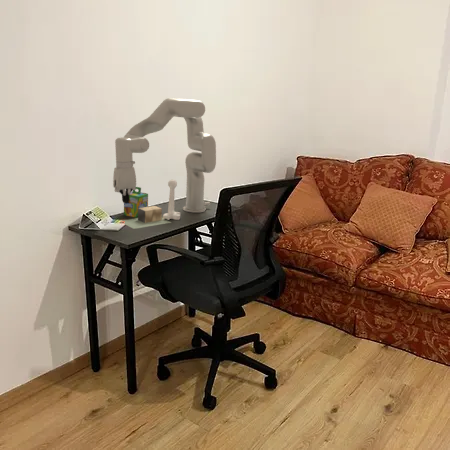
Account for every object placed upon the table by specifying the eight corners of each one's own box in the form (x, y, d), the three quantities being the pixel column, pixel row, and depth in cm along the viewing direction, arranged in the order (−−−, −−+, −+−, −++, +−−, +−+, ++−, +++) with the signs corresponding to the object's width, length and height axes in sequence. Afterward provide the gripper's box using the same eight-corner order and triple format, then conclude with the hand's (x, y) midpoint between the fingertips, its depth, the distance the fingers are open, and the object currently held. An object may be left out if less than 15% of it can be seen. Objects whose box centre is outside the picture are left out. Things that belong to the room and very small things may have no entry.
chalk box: (123, 215, 243) (123, 187, 239) (133, 212, 251) (133, 184, 247) (138, 218, 240) (138, 190, 235) (148, 214, 248) (148, 187, 243)
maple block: (137, 219, 236) (155, 217, 242) (144, 222, 232) (161, 220, 238) (137, 208, 235) (155, 205, 241) (144, 211, 230) (161, 208, 236)
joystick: (173, 215, 249) (175, 177, 244) (185, 218, 246) (187, 179, 240) (160, 219, 239) (162, 180, 234) (173, 222, 236) (175, 182, 231)
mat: (155, 216, 246) (155, 215, 246) (171, 223, 235) (171, 222, 235) (118, 221, 233) (118, 220, 233) (133, 229, 222) (133, 228, 222)
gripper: (134, 161, 228) (135, 198, 233) (105, 164, 219) (107, 203, 224) (142, 164, 222) (143, 202, 228) (113, 167, 213) (115, 207, 219)
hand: (125, 202), depth 226 cm, fingers closed
